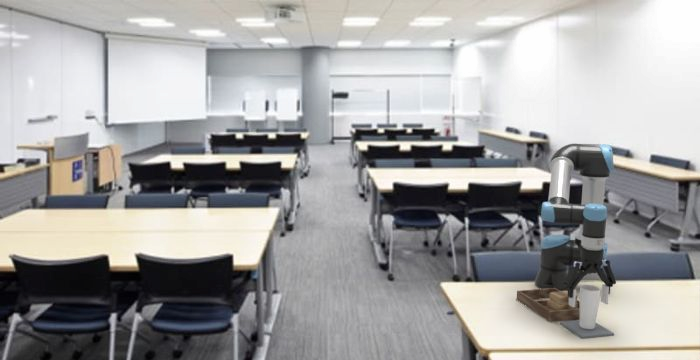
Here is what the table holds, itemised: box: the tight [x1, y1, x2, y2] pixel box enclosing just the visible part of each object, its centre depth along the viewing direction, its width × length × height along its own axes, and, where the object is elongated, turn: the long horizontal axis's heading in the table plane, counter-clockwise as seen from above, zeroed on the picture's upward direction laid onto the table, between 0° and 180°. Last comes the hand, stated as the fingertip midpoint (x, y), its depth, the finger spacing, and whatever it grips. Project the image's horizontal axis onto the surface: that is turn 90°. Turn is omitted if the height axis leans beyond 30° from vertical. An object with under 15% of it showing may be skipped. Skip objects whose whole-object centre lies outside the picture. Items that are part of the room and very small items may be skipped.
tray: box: [516, 288, 579, 323], centre depth 221 cm, size 18×24×4 cm
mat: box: [559, 319, 615, 340], centre depth 201 cm, size 13×13×1 cm
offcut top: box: [548, 291, 578, 305], centre depth 215 cm, size 8×6×3 cm
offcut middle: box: [546, 298, 578, 311], centre depth 215 cm, size 9×7×3 cm
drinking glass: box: [578, 284, 601, 330], centre depth 200 cm, size 7×7×15 cm
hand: (588, 304), depth 200 cm, fingers open, 13 cm apart
